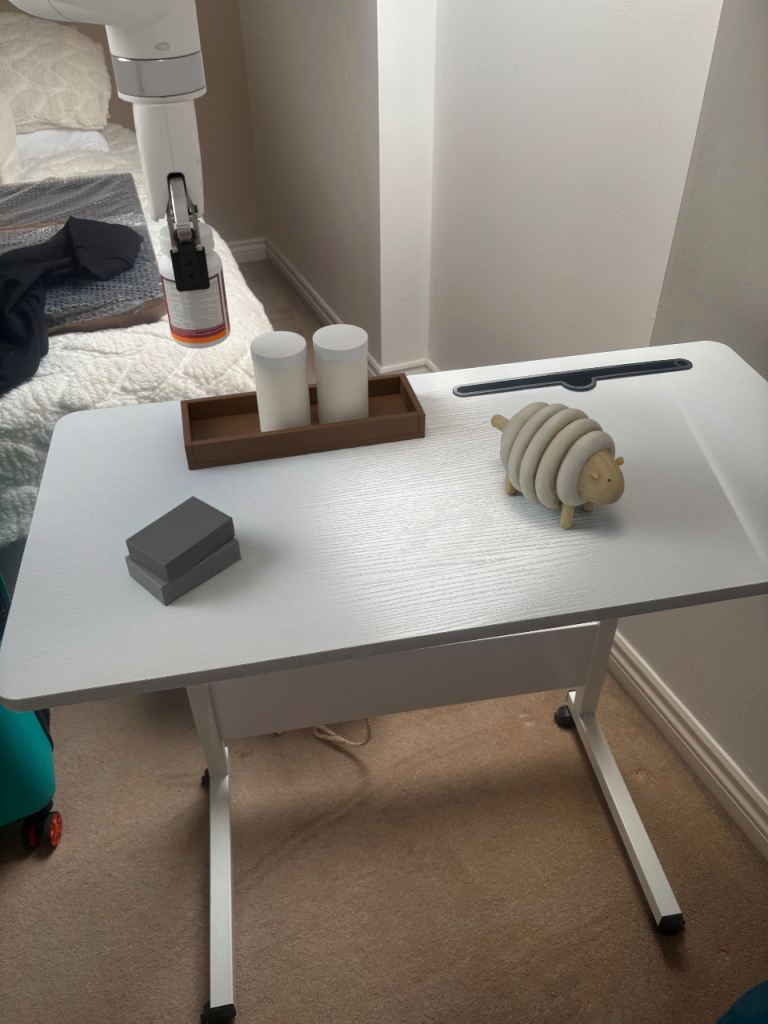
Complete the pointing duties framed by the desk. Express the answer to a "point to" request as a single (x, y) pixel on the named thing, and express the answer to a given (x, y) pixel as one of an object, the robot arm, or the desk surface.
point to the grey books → (182, 549)
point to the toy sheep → (559, 459)
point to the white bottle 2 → (341, 373)
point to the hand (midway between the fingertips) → (191, 273)
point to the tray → (238, 438)
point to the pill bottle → (195, 297)
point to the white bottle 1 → (281, 380)
